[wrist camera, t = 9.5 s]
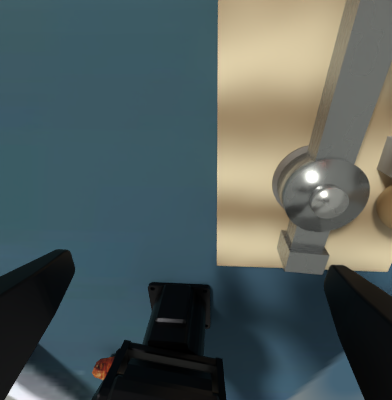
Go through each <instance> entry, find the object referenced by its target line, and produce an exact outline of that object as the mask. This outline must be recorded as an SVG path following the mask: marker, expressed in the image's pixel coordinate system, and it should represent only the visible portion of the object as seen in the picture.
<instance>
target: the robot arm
mask: <svg viewBox="0 0 392 400" xmlns="http://www.w3.org/2000/svg"><path fill="white" fill-rule="evenodd" d="M74 273H75V266H74V262H73V259H72V255H71V252H70V251H69V250H63V249H57V250H54V251H52V252H50V253H48V254H46V255H44V256H42V257H40V258H38V259H36V260H34V261H32V262H30V263H27V264H25V265H23V266H21V267H19V268H17V269H15V270H13V271H11V272H9V273H7V274H5V275H3V276H0V400H5V398H6V396H7V395H8V393H9V391H10V389H11V388H12V386H13V384H14V383H15V381H16V379H17V378H18V376H19V374H20V373H21V371H22V369H23V368H24V366H25V364H26V363H27V361H28V359H29V357H30V356H31V354H32V352H33V351H34V349H35V347H36V346H37V344H38V342H39V341H40V339H41V337H42V336H43V334H44V332H45V331H46V329H47V327H48V325H49V324H50V322H51V320H52V319H53V317H54V315H55V313H56V311H57V309H58V307H59V305H60V303H61V301H62V299H63V297H64V295H65V293H66V290H67V288H68V286H69V284H70V282H71V280H72V278H73V276H74ZM153 287H154V288H153ZM324 291H325V294H326V297H327V301H328V304H329V307H330V311H331V314H332V317H333V321H334V324H335V327H336V330H337V333H338V336H339V339H340V342H341V344H342V347H343V349H344V351H345V354H346V356H347V359H348V361H349V363H350V366H351V368H352V370H353V373H354V375H355V378H356V380H357V382H358V385H359V387H360V390H361V392H362V394H363V397H364V399H365V400H392V296H390V295H389V294H387V293H386V292H384V291H383V290H381V289H380V288H378V287H377V286H375V285H374V284H372V283H371V282H369V281H368V280H366V279H365V278H363V277H362V276H360V275H359V274H357V273H356V272H354V271H352V270H351V269H349V268H348V267H346V266H344V265H330V267H329V269H328V272H327V275H326V278H325V281H324ZM148 292H149V297H150V303H151V308H152V313H151V316H150V320H149V323H148V327H147V330H146V333H145V337H144V340H143V344H138V343H132V342H131V341H128V340H124V342H123V344H122V346H121V349H120V348H119V349H118V350H117V351H116V354H115V357H114V359H113V362H112V364H111V366H110V368H109V371H108V373H107V375H106V376H105V378H104V380H103V381H102V383H101V385H100V386H99V388H98V389H97V391H96V393H95V394H94V396H93V398H92V400H226V392H225V382H224V372H223V362H222V359H221V358H216V359H215V358H210V357H205V356H203V355H204V339H205V329H208V328H210V287H209V286H208V285H199V284H177V283H155V282H152V283H150V284H149V286H148Z"/></svg>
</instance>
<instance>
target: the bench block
mask: <svg viewBox="0 0 392 400" xmlns="http://www.w3.org/2000/svg"><path fill="white" fill-rule="evenodd" d="M345 3H346V0H218V144H217V266H244V267H271V268H283V265H282V262H281V259H280V256H279V253H278V250H277V245H278V241H279V236H280V232H281V230H287V227H288V223H289V220H290V219H289V217H288V216H287V214H286V212H285V210H284V208H283V205H282V203H281V201H280V199H279V197H278V193H277V183H278V179H279V176H280V174H281V172H282V171H283V169H284V168H285V167H286V165H287V164H288V163H289V162H290V161H292V160H293V159H294V158H296V157H297V156H299V155H301V154H304V153H306V152H307V150H308V146H309V142H310V138H311V134H312V131H313V127H314V123H315V119H316V115H317V111H318V107H319V104H320V100H321V96H322V92H323V88H324V84H325V80H326V76H327V73H328V69H329V65H330V61H331V57H332V53H333V49H334V46H335V42H336V38H337V34H338V30H339V26H340V22H341V18H342V15H343V11H344V7H345ZM354 165H356V166H357V167H359V168H360V169H361V170H362V171H363V172H364V173H365V174H366V176H367V178H368V181H369V184H370V195H369V199H368V202H367V204H366V206H365V208H364V209H363V211H362V212H361V213H360V214H359V215H358V216H357V217H356V218H355V219H354V220H352V221H351V222H350V223H348V224H346V225H345V226H343V227H341V228H338V229H335V230H331V231H330V233H329V236H328V238H327V241H326V244H325V249H326V250H327V252H328V253H329V255H330V256H329V259H328V261H327V264H326V267H325V270H328V269H329V267H330V265H344V266H346V267H348V268H349V269H351V270H352V271H378V272H388V270H389V267H390V265H391V263H392V229H390V228H389V227H387V226H386V225H385V224H384V223H383V222H382V221H381V220H380V218H379V217H378V214H377V211H376V203H377V199H378V197H379V195H380V194H381V193H382V192H383V191H384V190H385V189H386V188H387V187H389V186H390V185H392V62H391V64H390V67H389V70H388V73H387V75H386V78H385V81H384V84H383V86H382V89H381V92H380V95H379V97H378V100H377V103H376V106H375V109H374V111H373V114H372V117H371V120H370V122H369V125H368V128H367V131H366V133H365V136H364V139H363V142H362V144H361V147H360V150H359V153H358V155H357V158H356V161H355V164H354Z"/></svg>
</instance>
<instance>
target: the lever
mask: <svg viewBox="0 0 392 400" xmlns="http://www.w3.org/2000/svg"><path fill="white" fill-rule="evenodd" d="M391 62H392V0H346V3H345V7H344V11H343V15H342V18H341V22H340V26H339V30H338V34H337V38H336V42H335V46H334V49H333V53H332V57H331V61H330V65H329V69H328V73H327V76H326V80H325V84H324V88H323V92H322V96H321V100H320V104H319V107H318V111H317V115H316V119H315V123H314V127H313V131H312V134H311V138H310V142H309V146H308V150H307V152H306V153H304V154H301V155H299V156H297V157H296V158H294V159H293V160H292V161H290V162H289V163H288V164H287V165H286V167H285V168H284V169H283V171H282V172H281V174H280V176H279V179H278V183H277V193H278V197H279V199H280V201H281V203H282V205H283V208H284V210H285V212H286V214H287V216H288V217H289V219H290V220H289V223H288V227H287V230H281V232H280V236H279V241H278V245H277V250H278V253H279V256H280V259H281V262H282V265H283V268H284V271H287V272H298V273H308V274H319V275H322V274H323V272H324V269H325V267H326V264H327V261H328V259H329V256H330V255H329V253H328V252H327V250H326V249H325V244H326V241H327V238H328V236H329V233H330V231H331V230H335V229H338V228H341V227H343V226H345V225H346V224H348V223H350V222H351V221H352V220H354V219H355V218H356V217H357V216H358V215H359V214H360V213H361V212H362V211H363V209H364V208H365V206H366V204H367V202H368V199H369V195H370V184H369V181H368V178H367V176H366V174H365V173H364V172H363V171H362V170H361V169H360V168H359V167H357V166H356V165H354V164H355V161H356V158H357V155H358V153H359V150H360V147H361V144H362V142H363V139H364V136H365V133H366V131H367V128H368V125H369V122H370V120H371V117H372V114H373V111H374V109H375V106H376V103H377V100H378V97H379V95H380V92H381V89H382V86H383V84H384V81H385V78H386V75H387V73H388V70H389V67H390V64H391Z"/></svg>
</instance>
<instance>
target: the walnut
mask: <svg viewBox="0 0 392 400" xmlns="http://www.w3.org/2000/svg"><path fill="white" fill-rule="evenodd" d="M376 211H377V214H378V217H379V218H380V220H381V221H382V222H383V223H384V224H385V225H386V226H387V227H389V228H390V229H392V185H390V186H389V187H387V188H386V189H385V190H384V191H383V192H382V193H381V194H380V195H379V197H378V199H377V203H376Z"/></svg>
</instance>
